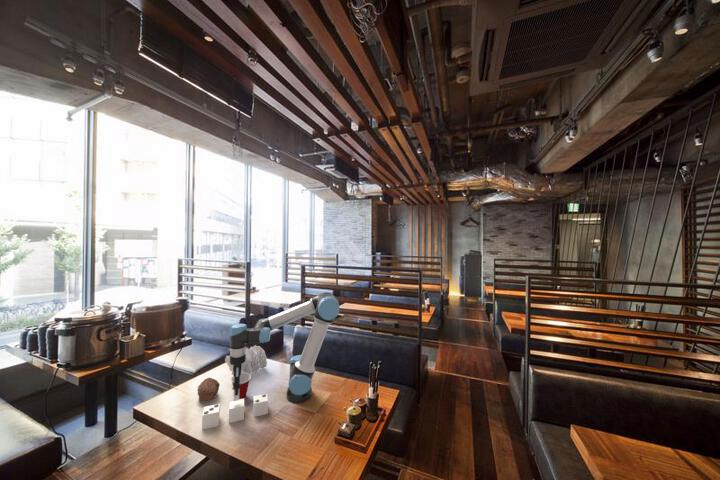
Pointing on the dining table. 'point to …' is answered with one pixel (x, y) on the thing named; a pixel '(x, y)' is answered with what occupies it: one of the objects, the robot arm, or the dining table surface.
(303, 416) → the dining table surface
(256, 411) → the block two pips
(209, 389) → the coconut
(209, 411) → the block three pips
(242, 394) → the plastic cup
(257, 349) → the white ruffled irregular piece
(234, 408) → the blank block
